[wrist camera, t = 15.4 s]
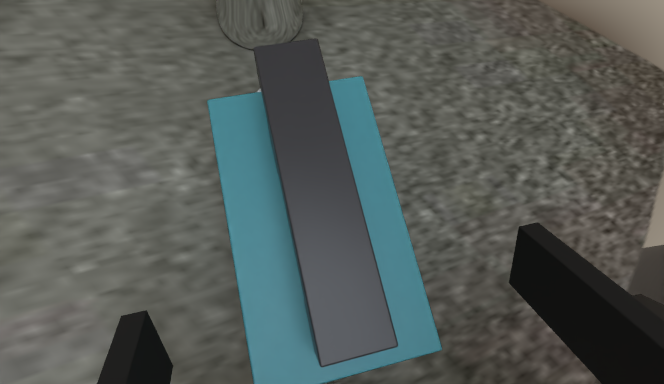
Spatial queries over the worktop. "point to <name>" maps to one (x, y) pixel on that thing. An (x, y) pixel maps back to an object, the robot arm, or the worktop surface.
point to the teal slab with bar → (316, 225)
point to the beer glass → (259, 21)
